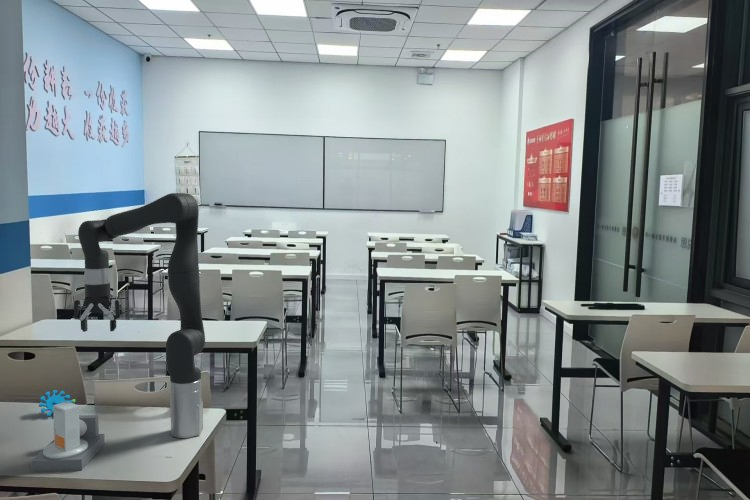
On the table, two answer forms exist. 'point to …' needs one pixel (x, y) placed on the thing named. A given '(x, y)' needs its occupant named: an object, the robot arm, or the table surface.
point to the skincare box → (66, 426)
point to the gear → (53, 401)
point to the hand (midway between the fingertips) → (98, 331)
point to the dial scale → (77, 457)
